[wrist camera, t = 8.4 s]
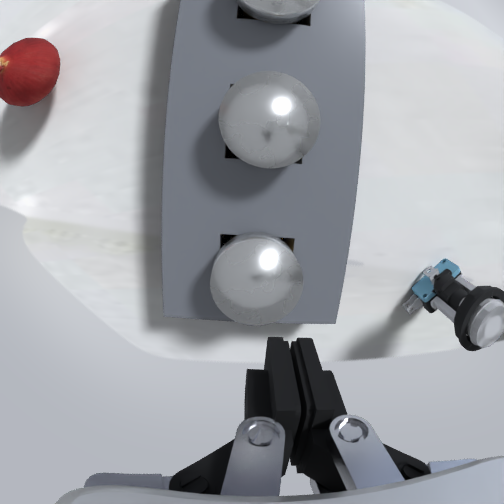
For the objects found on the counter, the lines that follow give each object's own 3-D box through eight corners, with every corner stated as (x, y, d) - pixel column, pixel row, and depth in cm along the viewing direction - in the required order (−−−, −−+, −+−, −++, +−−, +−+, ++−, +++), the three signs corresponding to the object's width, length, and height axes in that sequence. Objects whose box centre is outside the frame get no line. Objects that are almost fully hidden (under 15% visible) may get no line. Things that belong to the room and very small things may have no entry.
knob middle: (303, 95, 22) (323, 77, 16) (297, 168, 24) (316, 172, 18) (226, 88, 22) (222, 67, 16) (221, 163, 23) (215, 165, 18)
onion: (18, 104, 21) (-38, 98, 13) (38, 47, 19) (-13, 26, 12) (62, 114, 22) (6, 106, 14) (85, 52, 20) (37, 24, 13)
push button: (410, 321, 29) (462, 380, 19) (389, 285, 27) (446, 341, 18) (457, 280, 28) (519, 324, 18) (440, 241, 26) (509, 279, 17)
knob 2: (292, 222, 25) (308, 242, 19) (285, 290, 27) (297, 326, 21) (217, 217, 25) (211, 236, 19) (215, 287, 26) (209, 323, 21)
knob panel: (347, -8, 20) (362, -28, 16) (323, 301, 28) (335, 323, 24) (195, -24, 19) (190, -48, 15) (173, 294, 27) (163, 316, 23)
